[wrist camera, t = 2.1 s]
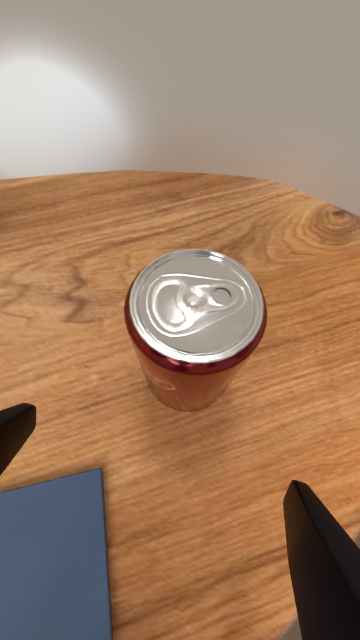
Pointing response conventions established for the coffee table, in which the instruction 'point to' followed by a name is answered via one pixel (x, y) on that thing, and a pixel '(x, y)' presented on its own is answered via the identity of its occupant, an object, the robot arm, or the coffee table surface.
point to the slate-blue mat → (55, 561)
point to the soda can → (193, 325)
